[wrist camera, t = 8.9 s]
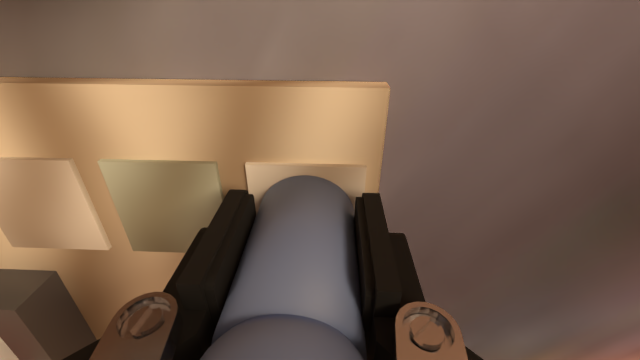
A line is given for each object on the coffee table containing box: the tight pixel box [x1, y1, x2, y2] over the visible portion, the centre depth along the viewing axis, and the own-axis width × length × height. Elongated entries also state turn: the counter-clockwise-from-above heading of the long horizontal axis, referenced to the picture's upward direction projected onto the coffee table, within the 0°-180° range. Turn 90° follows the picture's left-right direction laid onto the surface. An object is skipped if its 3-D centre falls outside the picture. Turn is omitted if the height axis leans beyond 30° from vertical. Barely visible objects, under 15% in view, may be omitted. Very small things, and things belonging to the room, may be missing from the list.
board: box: [0, 77, 390, 340], centre depth 14 cm, size 24×19×1 cm
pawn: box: [200, 175, 367, 360], centre depth 8 cm, size 4×4×8 cm
